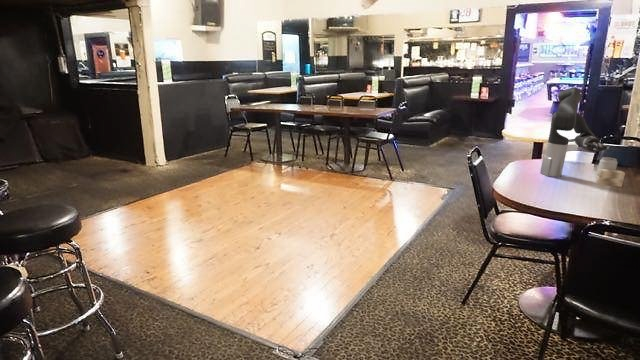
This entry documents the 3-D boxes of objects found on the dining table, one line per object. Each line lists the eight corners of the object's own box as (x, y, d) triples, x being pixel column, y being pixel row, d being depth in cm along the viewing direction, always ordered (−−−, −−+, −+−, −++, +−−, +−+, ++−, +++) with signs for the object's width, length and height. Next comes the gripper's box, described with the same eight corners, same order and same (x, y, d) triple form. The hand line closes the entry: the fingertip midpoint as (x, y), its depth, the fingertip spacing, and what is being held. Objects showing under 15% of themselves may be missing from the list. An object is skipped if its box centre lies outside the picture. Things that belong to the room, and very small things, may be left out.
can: (615, 183, 210) (621, 160, 207) (599, 182, 211) (605, 159, 208) (608, 179, 217) (613, 156, 214) (592, 178, 218) (598, 156, 215)
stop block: (598, 184, 208) (601, 170, 206) (596, 182, 212) (599, 168, 210) (621, 186, 205) (625, 173, 203) (618, 184, 209) (622, 171, 207)
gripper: (580, 136, 243) (588, 141, 227) (606, 138, 239) (616, 143, 223) (577, 148, 245) (585, 154, 229) (603, 151, 241) (613, 157, 225)
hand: (600, 149), depth 226 cm, fingers closed
